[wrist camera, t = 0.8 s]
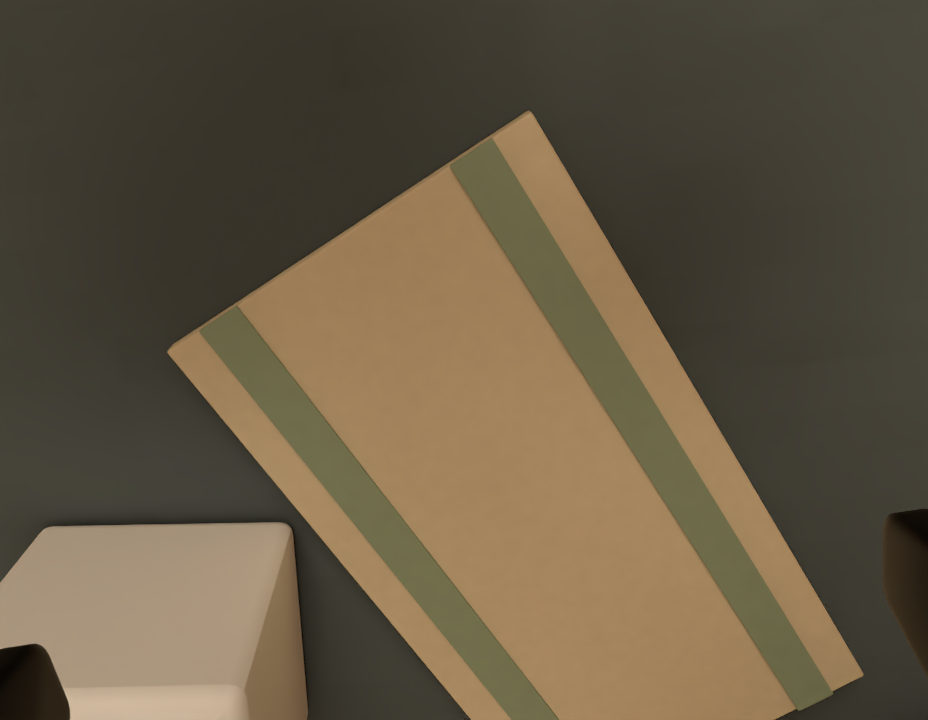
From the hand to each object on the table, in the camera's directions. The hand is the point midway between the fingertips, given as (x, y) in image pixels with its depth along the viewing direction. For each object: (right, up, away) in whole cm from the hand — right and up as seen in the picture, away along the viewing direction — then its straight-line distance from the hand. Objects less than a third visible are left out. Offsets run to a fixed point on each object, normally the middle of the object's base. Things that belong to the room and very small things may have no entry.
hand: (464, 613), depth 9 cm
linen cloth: (+2, -2, +16) cm, 16 cm away
